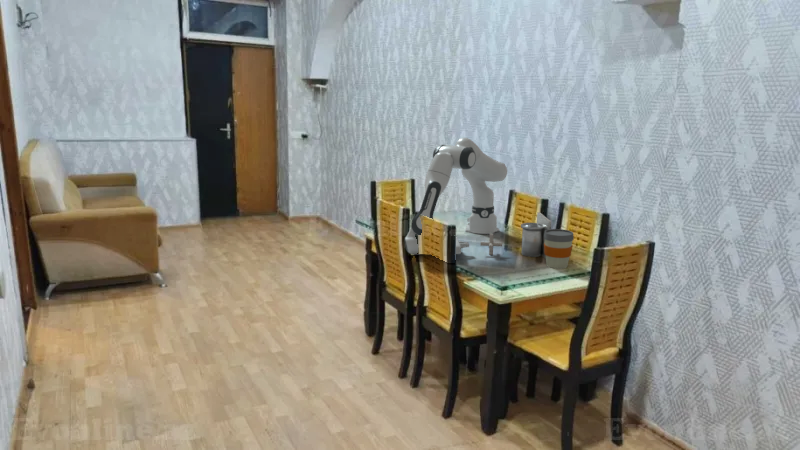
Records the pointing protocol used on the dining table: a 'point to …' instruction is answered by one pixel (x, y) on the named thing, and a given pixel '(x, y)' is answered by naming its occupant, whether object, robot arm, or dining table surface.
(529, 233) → the duct stub
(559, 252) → the reusable coffee cup
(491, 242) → the pipe connector
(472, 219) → the robot arm
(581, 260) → the dining table surface
